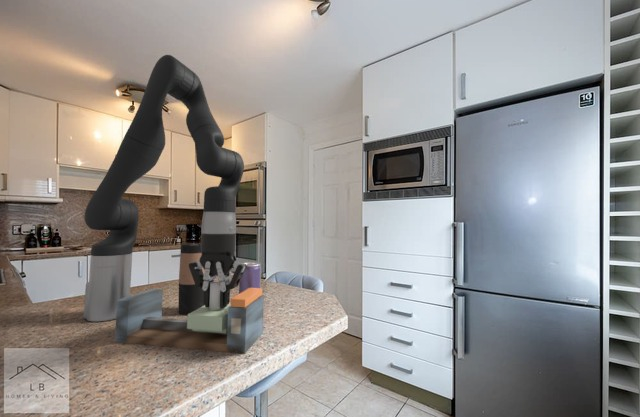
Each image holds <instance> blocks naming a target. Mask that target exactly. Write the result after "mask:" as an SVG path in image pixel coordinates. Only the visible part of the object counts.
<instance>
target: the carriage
mask: <svg viewBox="0 0 640 417" xmlns="http://www.w3.org/2000/svg"><path fill="white" fill-rule="evenodd" d="M220 292H221V285H220V282H219V280H214V281H213V282H210V302H209V307H205V305H204V306H202V307H201V308H199V309H197V310H195V311H193V312H191V313H189V314H188V315H187V319H186V320H187V329H192V331H202V332H214V333H227V327H228V307H230V306H231V302H229V304H228V305H227V306H226V307H225V308H220Z"/></svg>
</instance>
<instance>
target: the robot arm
mask: <svg viewBox="0 0 640 417" xmlns="http://www.w3.org/2000/svg"><path fill="white" fill-rule="evenodd" d="M168 95H169V96H171V97H172V98H174V99H175V100H177V101H180V102H181V103H182V104H183V105H184V106H185V107H186V109H187V110H188V112H187V113H186V117H185V122H186V123H185V124H186V127H187V130H188V132H189V135H190V136H191V138H192V140H193V143H194V146H195V147H194V148H195V157H196V158H195V159H196V165H197V167H198V168H199V170H200V171H201V172H202V173H204V174H205V175H208V176H212V177H217V178H220V181H219V184H218V186H217V185H215V186H209V187H207V188H206V189H205V190H204V193H203V196H204V197H203V213H202V220H201V229H200V230H201V231H200V232H201V233H200V234H201V236H200V238H201V239H200V244H201V252H202V255H201V257H200V260H198V261H196V262H192V263H190V264H189V268H190V271H191V274H192V277H193V280H194V283H195V286H196V287H197V288H199V287H200V288H202V289H203V290H204V300H203V303H204V304H205V307H209V302H210V282H213V281H216V280H215V279H216V278H218V280H217V281H219V282H220V285H221V292H220V308H225V307H226V306H227V305H228V304H229V303H231V290H233V289H235V288H238V287H239V282H240V280H241V278H242V276H243V273H244V271H245V269H246V267H247V265H246V264H245V263H246V262H243V264H242V262H240V261H239V260H237V258H236V256H235V255H236V254H235V252H236V241H237V240H236V237H237V236H236V234H237V219H236V218H237V216H236V208H237V207H236V205H237V204H236V203H237V202H236V201H237V200H236V198H237V195H238V190H239V187H240V184H241V181H242V178H243V175H244V170H245V164H244V160H243V159H244V158H243V157H242V155H241V154H240V153H239V152H238V151H235V150H232V149H227V148H226V147H223V146H224V145H225V137H224V134H223V132H222V130H221V128H220V127H219V125H218V123H217V121H216V119H215V117H214V115H213V113H212V111H211V110H210V107H209V103H208V100H207V97H206V93H205V91H204V86H203V84H202V81H201V79H200V77H199V76H198V75H197V73H195V72H194V71H193V70H192V69H190V68H189V67H187V66H186V65H185V64H184V63H183V62H182V61H180V60H179V59H177V58H176V57H174V56H173V55H171V54H165V55H163V56H161V57H160V58H159V59H158V60H157V61H156V62H155V65H154V66H153V68H152V71H151V73H150V76H149V78H148V81H147V84H146V87H145V90H144V93H143V96H142V98H141V102H140V104H139V106H138V108H137V111H136V112H135V114H134V116H133V118H132V121H131V123H130V125H129V127H128V129H127V130H126V133H125V135H124V137H123V139H122V140H121V142H120V144H119V145H120V146H119V148H118V150H117V153H116V154H115V156H114V159H113V161H112V162H111V164H110V166H109V168H108V170H107V172H106V174H105V175H104V177H103V179H102V180H101V182H100V184H99V185H98V187H97V188H96V189H95V192H94V193H93V194H92V196H91V197H90V200H89V202H88V203H87V206H86V208H85V210H84V223H85V225H86V226H87V227H88V228H89V229H91V230H95V231H109V232H108V236H107V237H105V238H104V239H102V240H101V241H98V242H96V243H94V244H93V245H92V246H91V248H90V259H89V260H90V262H89V275H88V276H89V279H88V282H86V283H85V291H84V306H83V307H84V308H83V319H86V321H88V322H105V321H112V320H116V313H117V300H119V299H123V298H126V297H129V296H131V287H132V286H131V285H132V284H131V281H132V266H133V265H132V264H133V263H132V262H133V250H134V246H135V244H136V242H137V236H138V226H139V219H140V217H139V214H140V213H139V212H140V211H139V208H138V205H137V204H136V203H135V201H133V200H131V199H127V198H123V196H124V194H125V193H126V192H127V190H128V189H129V188H130V187H131V185H133V184H134V183H135V182H136V181H138V180H139V179H141V178H142V177H143V176H144V175H147V173H148V172H150V171H151V170H152V169H153V168H154V167H155V166H156V165H157V163H158V162H159V159H160V157H161V155H162V153H163V151H164V150H165V147H166V132H165V127H164V121H163V108H164V104H165V101H166V97H167V96H168ZM202 267H203V268H204V270H205V272H204V274H203V271H202ZM232 268H233V271H234V273H233V275H231V270H232Z"/></svg>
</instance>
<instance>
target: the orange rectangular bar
mask: <svg viewBox="0 0 640 417" xmlns="http://www.w3.org/2000/svg"><path fill="white" fill-rule="evenodd" d="M261 295H263V288H262V287H261V288H248V289H247V290H245V291H243V292H242V293H240V294H239V293H238V294H237V295H234V296H233V297H232V298H231V297H230V303H231V306H230V307H243V308H245V307H246V306H248V305H249V304H250V303H252V302H253V301H255V300H256V299H257V298H259V297H260V296H261Z"/></svg>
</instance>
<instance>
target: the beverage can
mask: <svg viewBox="0 0 640 417" xmlns="http://www.w3.org/2000/svg"><path fill="white" fill-rule="evenodd" d="M241 263H242V262H241ZM243 263H245V264H246V265H247V267H246V269H245V271H244V273H243V276H242V278H241V280H240V282H239V285H238V294H240V293H242V292H243V291H245V290H247V289H248V288H262V286H261V285H262V283H261V282H262V266H261V264H262V263H260V262H243ZM243 263H242V264H243Z"/></svg>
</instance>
